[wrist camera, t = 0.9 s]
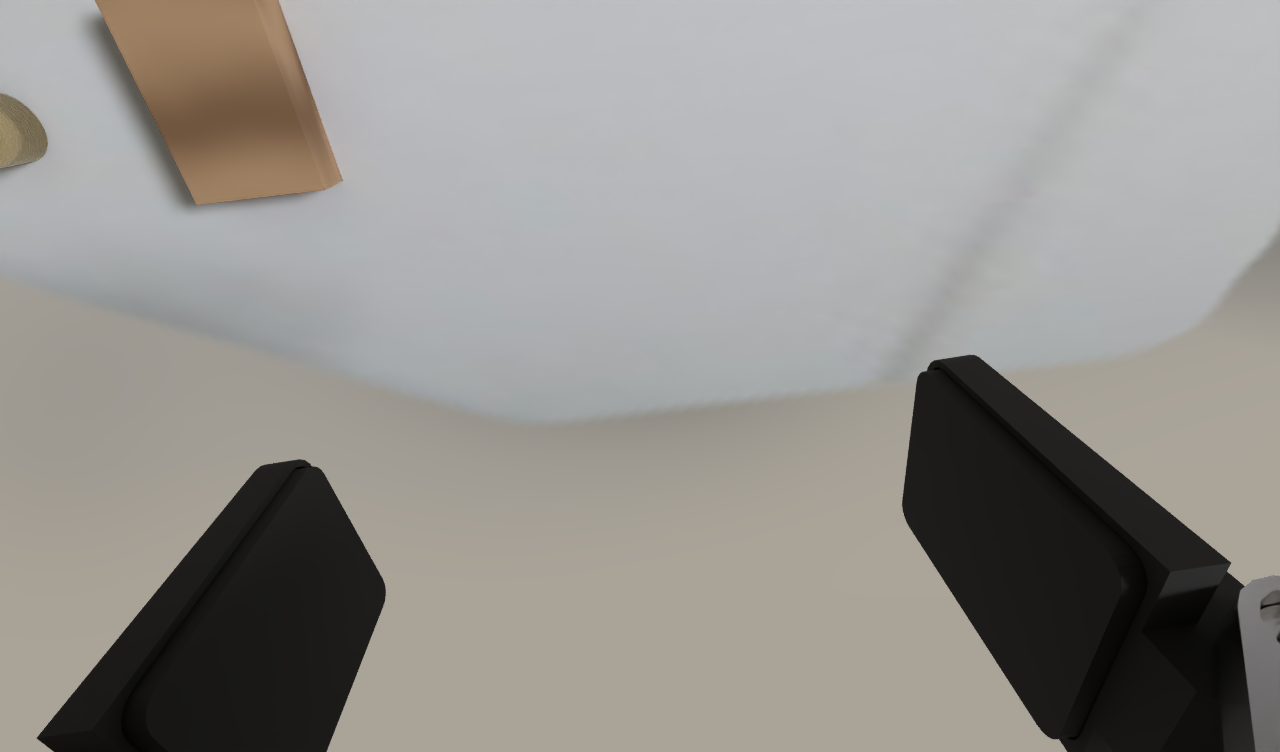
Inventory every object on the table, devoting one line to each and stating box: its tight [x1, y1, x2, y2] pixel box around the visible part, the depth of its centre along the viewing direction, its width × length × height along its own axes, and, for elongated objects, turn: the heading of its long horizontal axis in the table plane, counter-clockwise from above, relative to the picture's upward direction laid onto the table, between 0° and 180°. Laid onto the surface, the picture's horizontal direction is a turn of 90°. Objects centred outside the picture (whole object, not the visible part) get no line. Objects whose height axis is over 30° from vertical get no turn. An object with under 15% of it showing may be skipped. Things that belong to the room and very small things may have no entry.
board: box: [95, 0, 342, 205], centre depth 25 cm, size 8×6×2 cm
